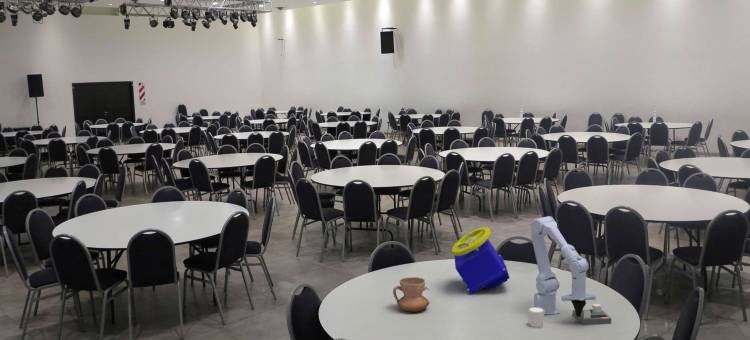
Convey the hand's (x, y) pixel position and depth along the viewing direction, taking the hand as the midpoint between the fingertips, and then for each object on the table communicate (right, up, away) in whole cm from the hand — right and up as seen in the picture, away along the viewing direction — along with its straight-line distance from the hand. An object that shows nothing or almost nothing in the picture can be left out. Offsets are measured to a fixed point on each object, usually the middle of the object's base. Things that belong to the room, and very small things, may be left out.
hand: (578, 316), depth 271 cm
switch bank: (+7, -2, +4) cm, 8 cm away
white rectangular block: (+4, -2, 0) cm, 4 cm away
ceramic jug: (-72, -2, +23) cm, 75 cm away
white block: (+11, -1, +7) cm, 13 cm away
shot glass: (-19, -4, -1) cm, 19 cm away
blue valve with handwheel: (-35, +2, +47) cm, 59 cm away
